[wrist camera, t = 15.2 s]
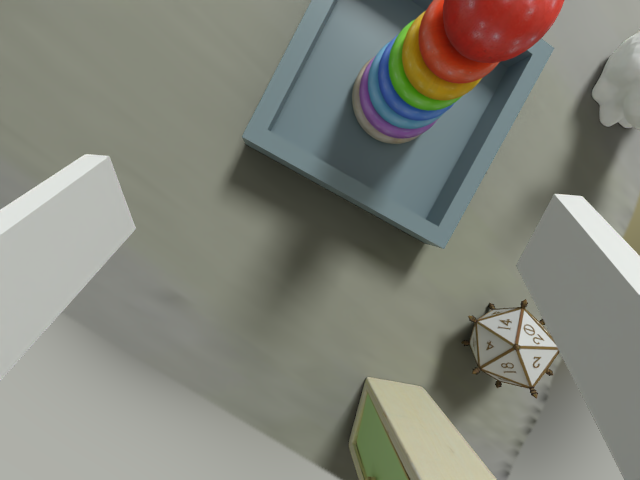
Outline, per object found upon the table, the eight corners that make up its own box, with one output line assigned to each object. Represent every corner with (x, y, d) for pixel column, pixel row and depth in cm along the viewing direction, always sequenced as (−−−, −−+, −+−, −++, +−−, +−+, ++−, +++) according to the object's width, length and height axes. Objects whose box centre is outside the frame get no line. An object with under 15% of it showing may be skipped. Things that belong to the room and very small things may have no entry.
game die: (451, 315, 41) (446, 310, 32) (527, 292, 38) (546, 280, 29) (483, 396, 37) (487, 416, 28) (568, 377, 35) (603, 392, 26)
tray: (245, 144, 32) (241, 136, 28) (348, -57, 31) (359, -95, 27) (424, 243, 35) (444, 248, 31) (521, 65, 34) (554, 48, 30)
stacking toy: (423, 48, 32) (628, -158, 13) (439, 135, 33) (648, 55, 15) (341, 65, 31) (439, -128, 13) (360, 153, 32) (476, 95, 14)
